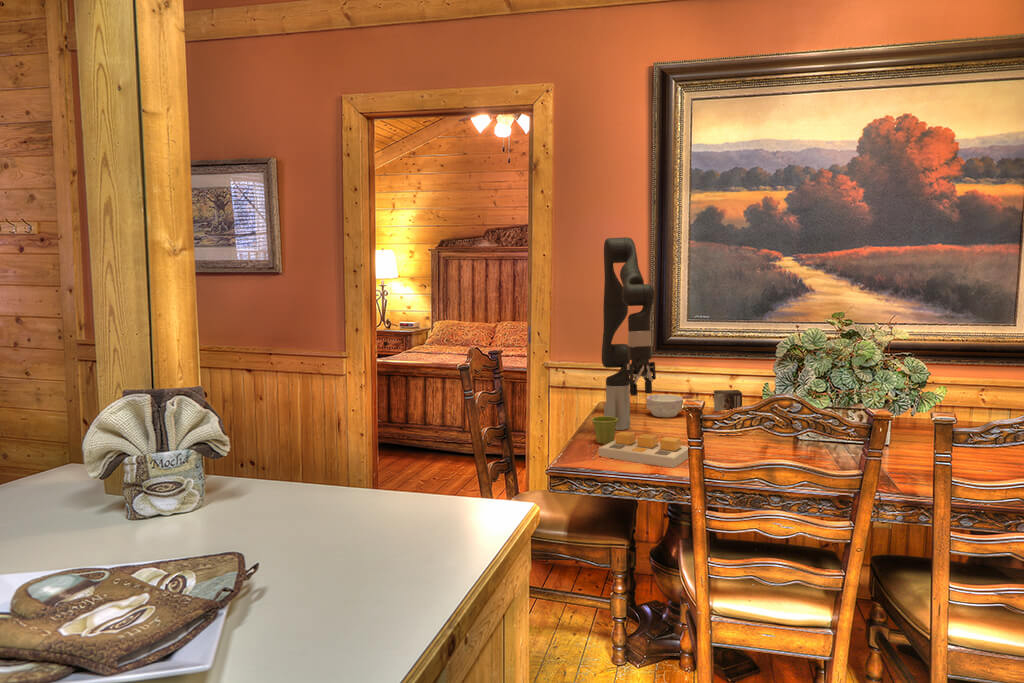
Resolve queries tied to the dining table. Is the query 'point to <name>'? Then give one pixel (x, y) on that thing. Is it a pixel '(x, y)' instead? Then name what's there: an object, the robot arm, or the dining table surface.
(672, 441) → the button right
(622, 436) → the button left
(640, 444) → the button middle
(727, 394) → the coffee box
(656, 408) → the light grey bowl
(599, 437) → the plant pot
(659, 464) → the button board
